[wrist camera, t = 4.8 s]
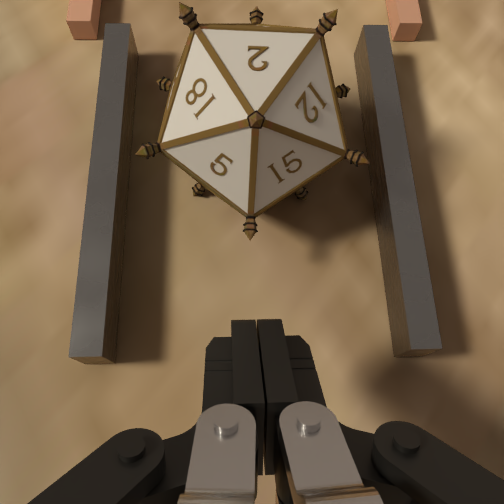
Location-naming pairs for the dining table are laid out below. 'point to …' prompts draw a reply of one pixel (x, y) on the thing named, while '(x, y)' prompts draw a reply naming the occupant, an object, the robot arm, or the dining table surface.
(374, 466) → the robot arm
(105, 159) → the chute
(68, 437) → the dining table surface
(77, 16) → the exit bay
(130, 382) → the dining table surface
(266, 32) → the game die
